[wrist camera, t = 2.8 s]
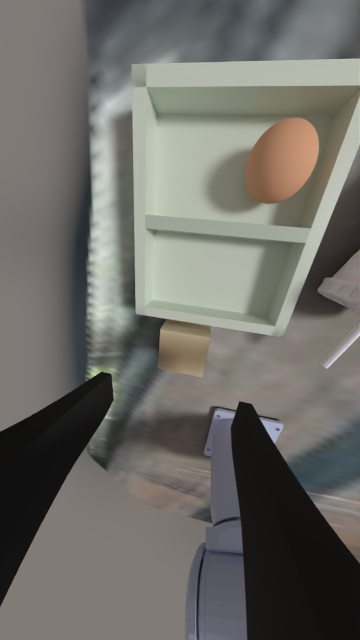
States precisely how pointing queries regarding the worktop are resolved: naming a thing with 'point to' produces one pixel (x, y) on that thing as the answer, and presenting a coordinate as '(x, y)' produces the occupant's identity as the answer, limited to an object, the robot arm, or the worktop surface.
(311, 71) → the tray
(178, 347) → the maple block
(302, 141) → the terracotta ball
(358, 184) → the worktop surface
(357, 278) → the smoothie
